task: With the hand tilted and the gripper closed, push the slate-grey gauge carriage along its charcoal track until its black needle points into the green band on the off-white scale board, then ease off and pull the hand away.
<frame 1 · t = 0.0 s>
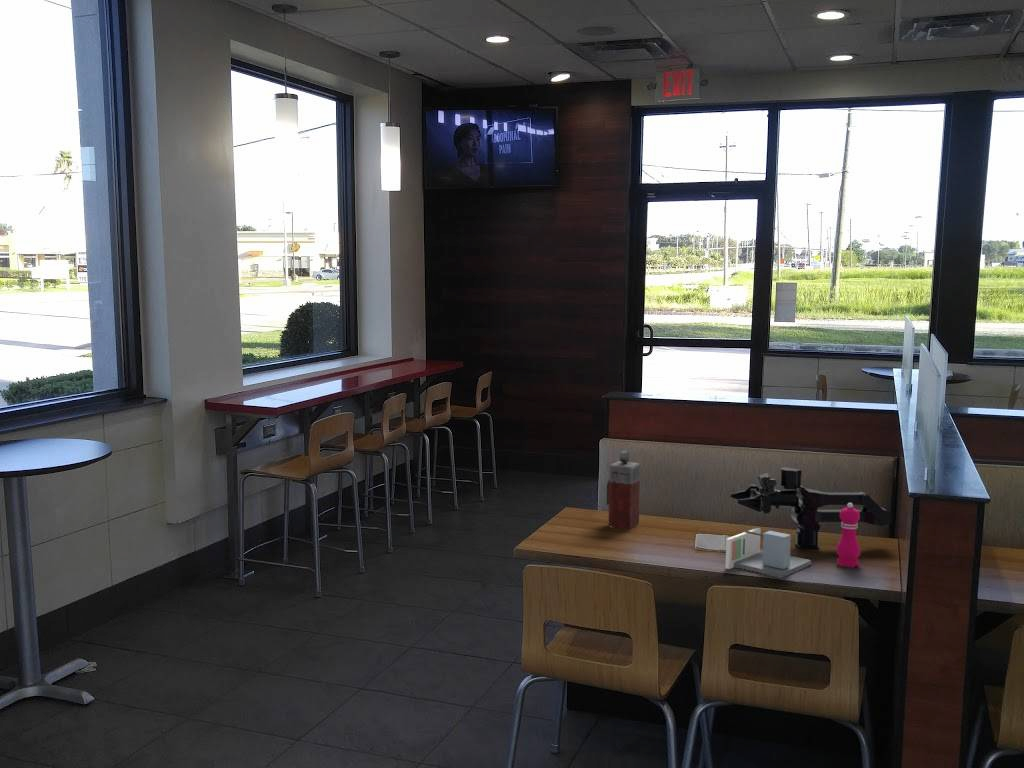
hand: (734, 498, 304), 17 cm above the table, tool horizontal, fingers open, 9 cm apart
red square canister: (620, 525, 334), on the table
gauge stand: (775, 571, 278), on the table
gauge carriage: (766, 547, 280), point 7 cm above the table, slide at 0.0 cm
pepper mill: (847, 565, 285), on the table
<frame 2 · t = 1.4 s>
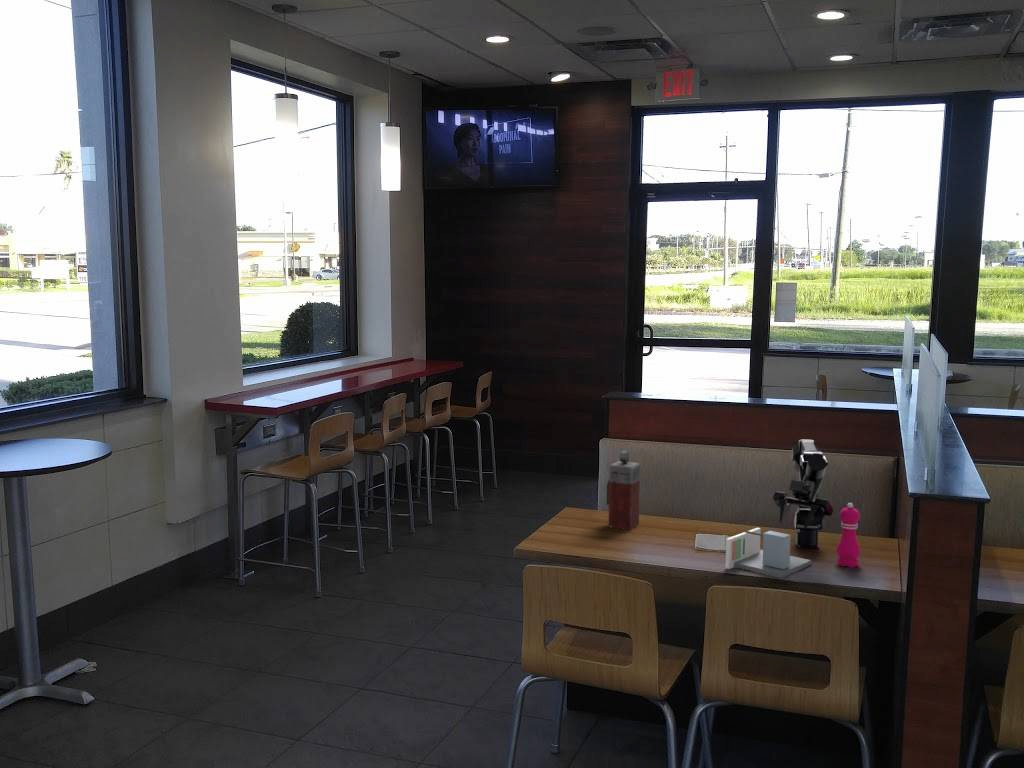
hand: (792, 524, 284), 13 cm above the table, tool tilted 45°, fingers open, 8 cm apart
nothing on the table moved.
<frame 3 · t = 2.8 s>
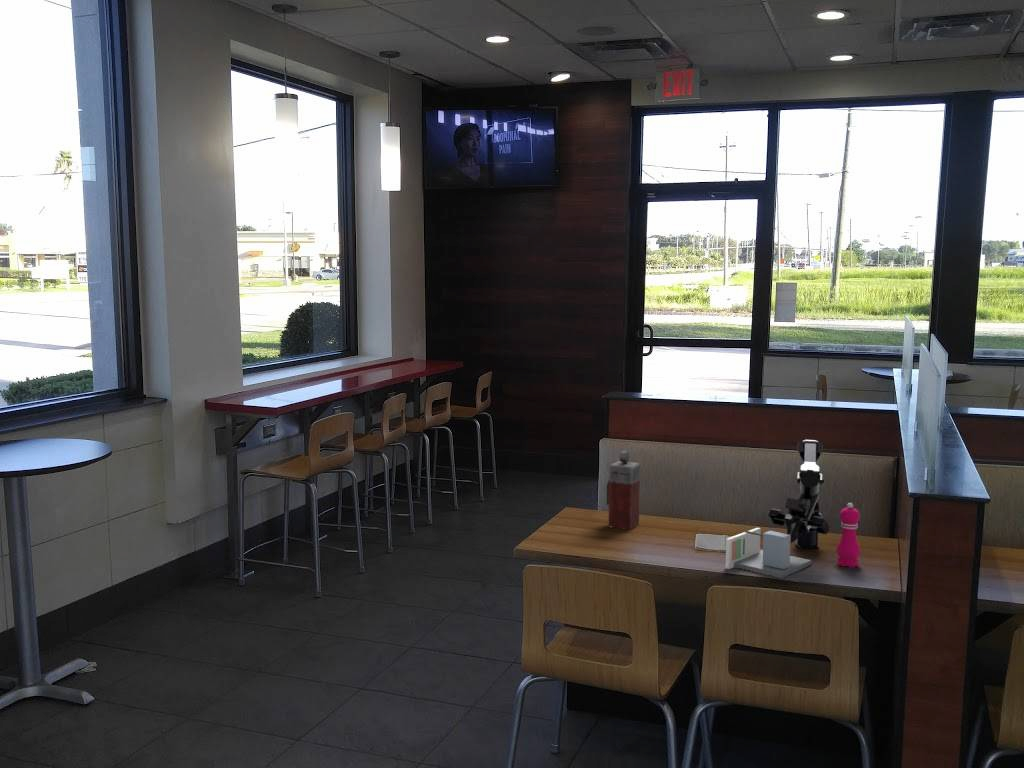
hand: (788, 543, 282), 8 cm above the table, tool tilted 45°, fingers closed
nothing on the table moved.
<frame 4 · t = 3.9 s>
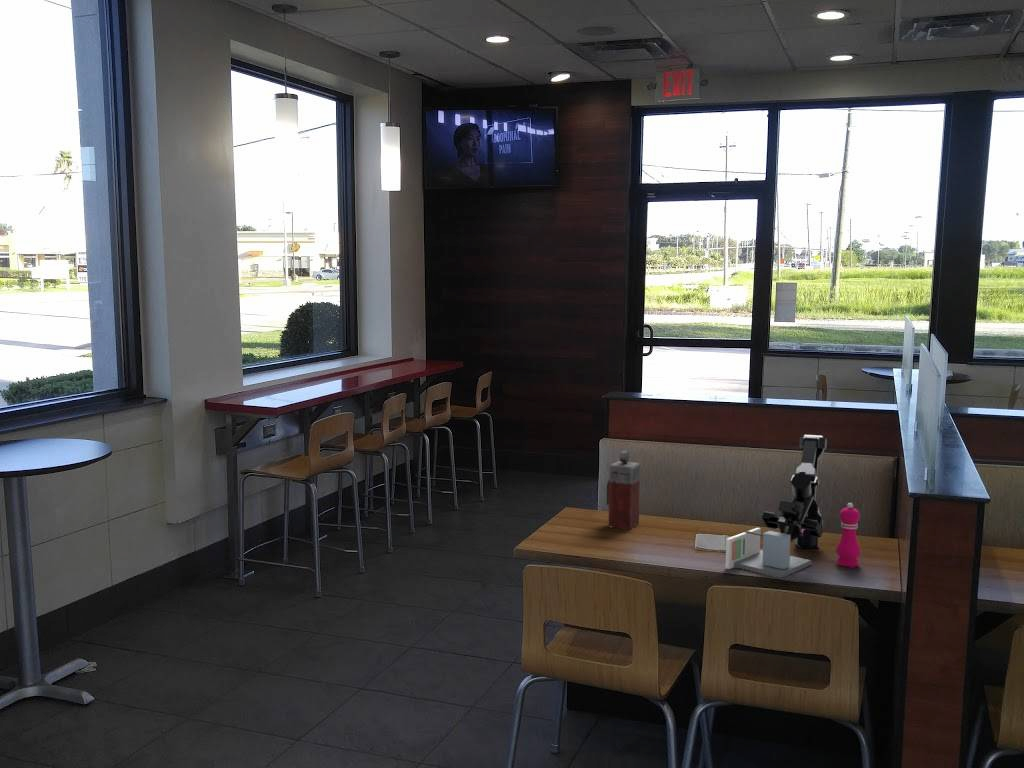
hand: (781, 546, 279), 7 cm above the table, tool tilted 45°, fingers closed, pressing on gauge carriage
gauge carriage: (766, 547, 280), point 7 cm above the table, slide at 0.1 cm, touching gripper
everything else where it was.
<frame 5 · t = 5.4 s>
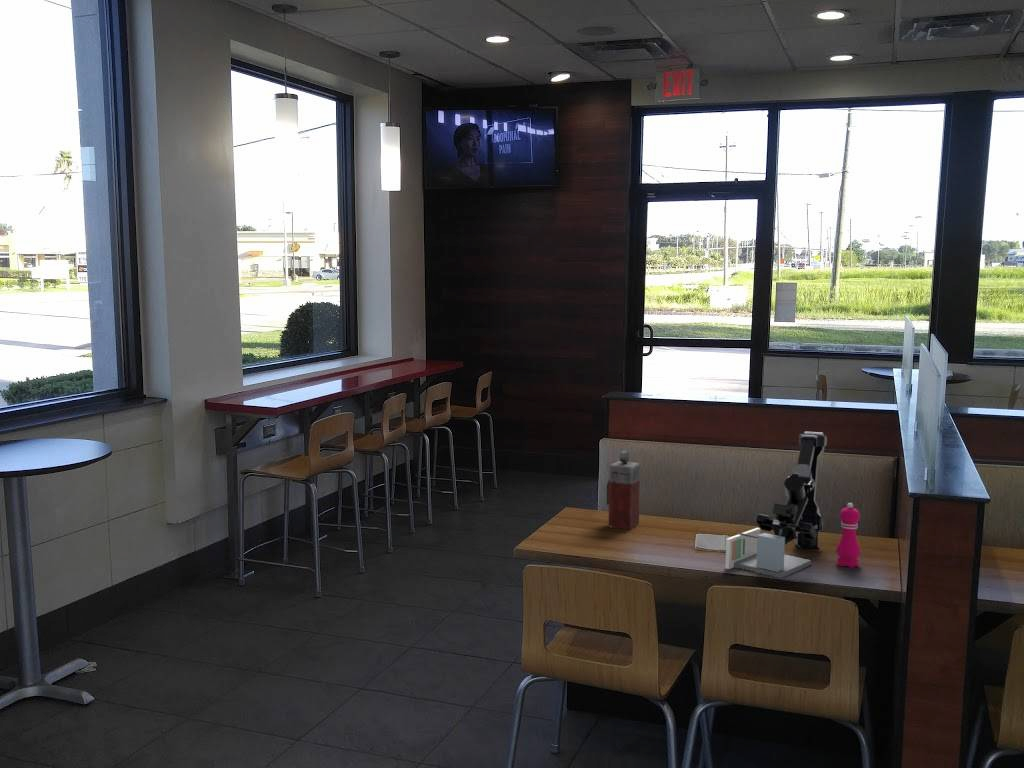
hand: (775, 549, 277), 7 cm above the table, tool tilted 45°, fingers closed
gauge carriage: (760, 549, 278), point 7 cm above the table, slide at 3.6 cm
everything else where it was.
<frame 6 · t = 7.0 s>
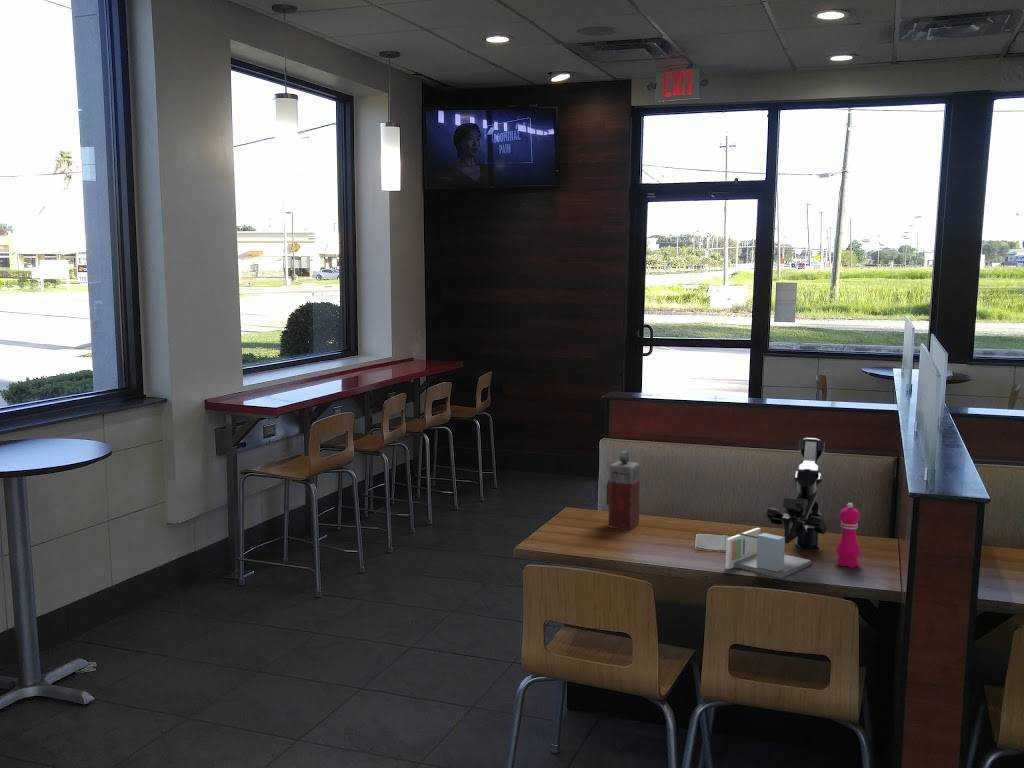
hand: (785, 542, 281), 8 cm above the table, tool tilted 45°, fingers closed
nothing on the table moved.
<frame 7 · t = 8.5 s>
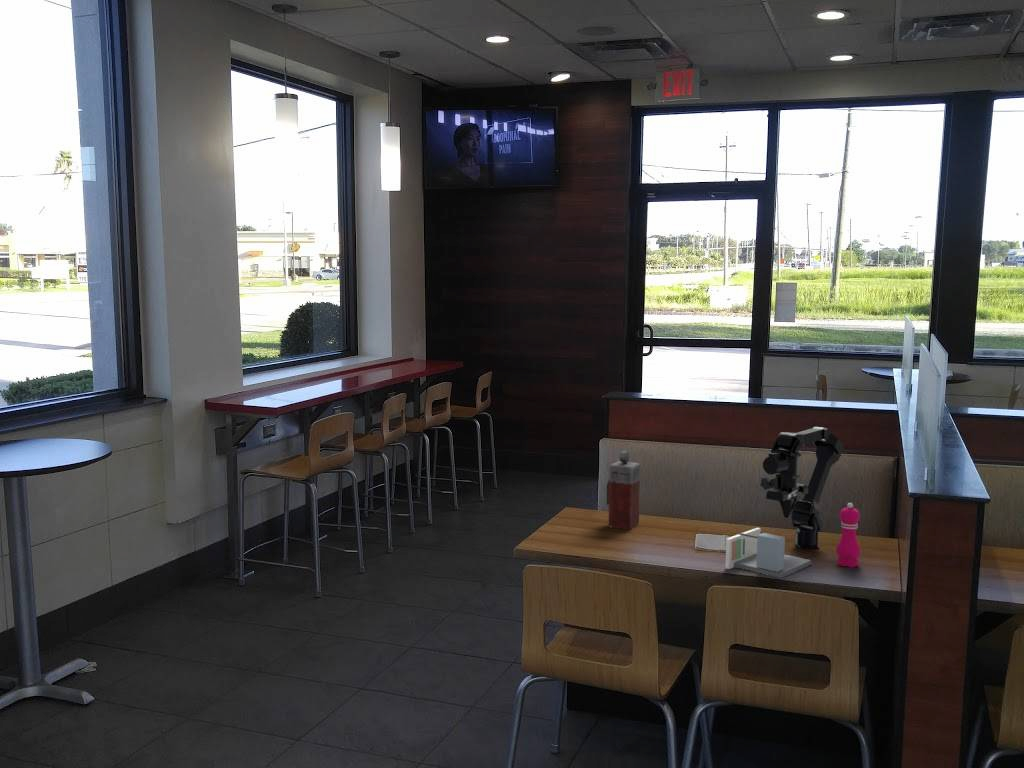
hand: (786, 517, 297), 12 cm above the table, tool pointing down, fingers closed
nothing on the table moved.
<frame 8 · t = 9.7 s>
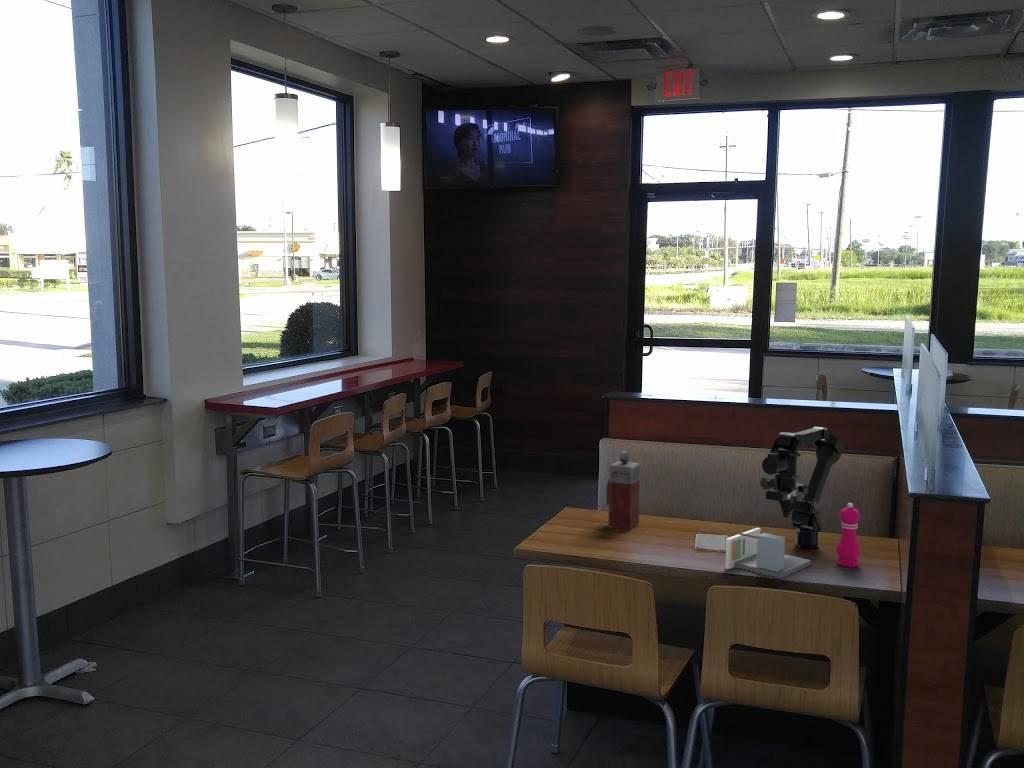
hand: (786, 517, 297), 12 cm above the table, tool pointing down, fingers closed
nothing on the table moved.
at the end: gauge carriage slide at 3.6 cm; pepper mill moved 0.2 cm from its start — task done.
